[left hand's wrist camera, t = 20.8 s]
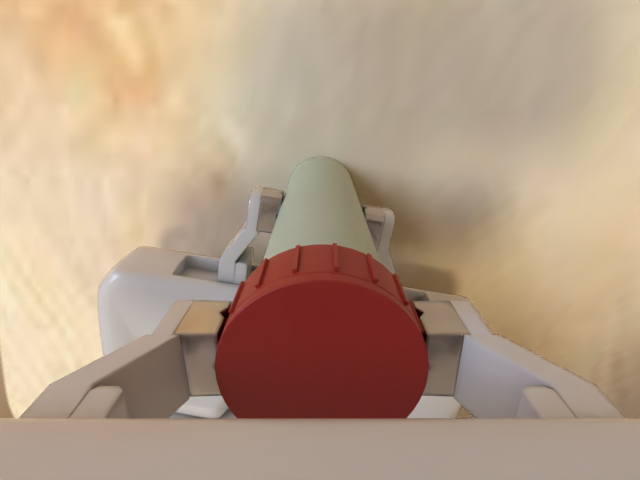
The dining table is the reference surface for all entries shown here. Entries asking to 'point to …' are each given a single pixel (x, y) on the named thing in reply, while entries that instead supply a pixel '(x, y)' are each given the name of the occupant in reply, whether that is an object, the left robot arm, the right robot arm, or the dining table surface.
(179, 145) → the dining table surface
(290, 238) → the green cylinder
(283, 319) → the lid
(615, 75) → the dining table surface
